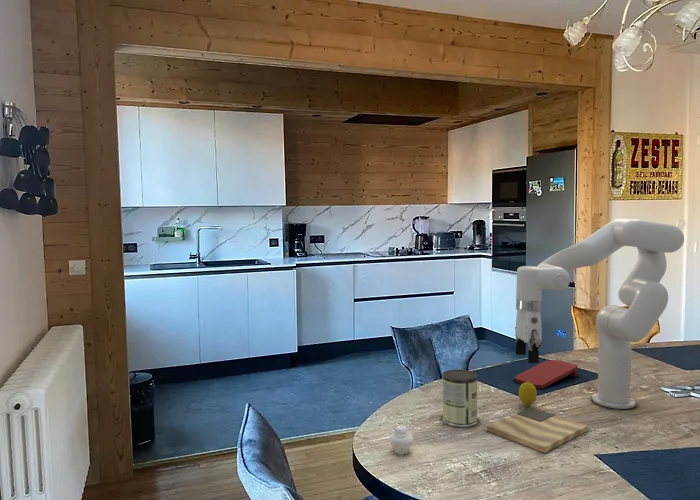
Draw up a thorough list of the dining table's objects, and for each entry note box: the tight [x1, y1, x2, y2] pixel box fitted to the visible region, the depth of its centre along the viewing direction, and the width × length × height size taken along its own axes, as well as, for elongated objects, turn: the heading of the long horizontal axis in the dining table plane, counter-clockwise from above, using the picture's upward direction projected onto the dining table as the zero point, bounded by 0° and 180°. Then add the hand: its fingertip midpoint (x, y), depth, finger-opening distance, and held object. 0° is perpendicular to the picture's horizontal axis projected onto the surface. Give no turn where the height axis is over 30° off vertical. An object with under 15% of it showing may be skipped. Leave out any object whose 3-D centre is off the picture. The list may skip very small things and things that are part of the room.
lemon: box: [518, 381, 538, 407], centre depth 171 cm, size 6×6×8 cm
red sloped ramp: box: [514, 359, 579, 389], centre depth 198 cm, size 12×5×25 cm
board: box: [486, 406, 589, 454], centre depth 151 cm, size 22×18×2 cm
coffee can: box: [441, 369, 479, 428], centre depth 159 cm, size 10×10×14 cm
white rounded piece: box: [389, 425, 414, 455], centre depth 139 cm, size 6×6×7 cm
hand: (526, 358), depth 170 cm, fingers open, 9 cm apart
